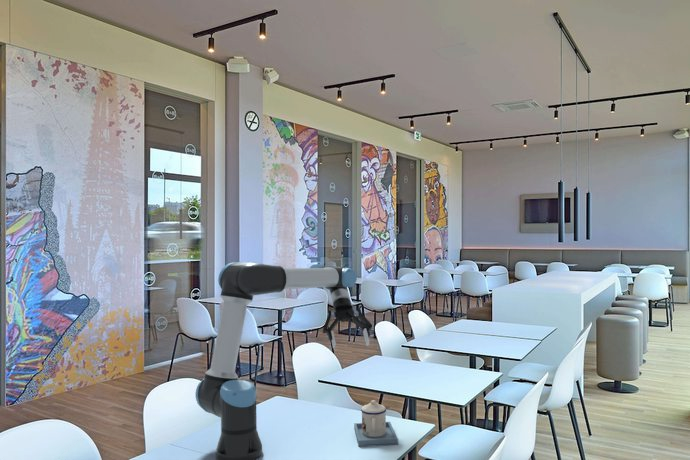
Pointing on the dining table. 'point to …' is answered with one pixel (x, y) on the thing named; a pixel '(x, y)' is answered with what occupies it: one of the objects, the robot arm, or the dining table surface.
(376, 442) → the slate tray
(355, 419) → the dining table surface
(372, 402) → the teacup with lid
